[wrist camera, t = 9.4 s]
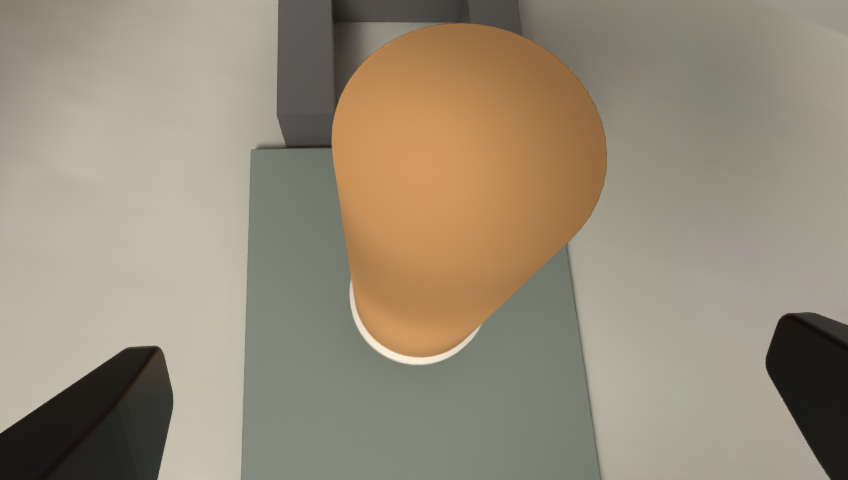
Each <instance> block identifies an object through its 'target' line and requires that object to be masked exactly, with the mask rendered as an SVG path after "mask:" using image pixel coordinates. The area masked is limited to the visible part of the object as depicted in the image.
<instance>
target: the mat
mask: <svg viewBox="0 0 848 480" xmlns="http://www.w3.org/2000/svg"><path fill="white" fill-rule="evenodd" d="M350 282H351V274H350V267H349V260H348V254H347V247H346V241H345V234H344V228H343V221H342V215H341V208H340V202H339V195H338V188H337V182H336V175H335V169H334V162H333V153H332V148H310V149H253V150H251V168H250V201H249V234H248V266H247V299H246V332H245V364H244V397H243V430H242V462H241V480H600V474H599V467H598V460H597V454H596V447H595V440H594V433H593V426H592V419H591V413H590V406H589V399H588V392H587V385H586V378H585V372H584V365H583V358H582V351H581V344H580V338H579V331H578V324H577V317H576V310H575V303H574V297H573V290H572V283H571V276H570V269H569V262H568V256H567V249H566V244H565V245H564V246H563V247H562V248H561V249H560V250H559V251H558V252H557V253H556V254H555V255H554V256H553V257H552V258H551V259H550V260H549V261H547V262H546V263H545V264H544V265H543V266H542V267H541V268H540V269H539V270H538V271H537V272H536V273H535V274H534V275H533V276H532V277H531V278H530V279H528V280H527V281H526V282H525V283H524V284H523V285H522V286H521V287H520V288H519V289H518V290H517V291H516V292H515V293H514V294H513V295H512V296H510V297H509V298H508V299H507V300H506V301H505V302H504V303H503V304H502V305H501V306H500V307H499V308H498V309H497V310H496V311H495V312H494V313H493V314H491V315H490V316H489V317H488V318H487V319H486V320H485V321H484V322H483V323H482V325H481V326H480V328H479V330H478V332H477V333H476V335H475V336H474V337H473V339H472V340H471V341H470V342H469V343H468V344H467V345H466V346H465V347H463V348H462V349H461V350H460V351H459V352H457V353H456V354H455V355H453V356H451V357H450V358H448V359H446V360H443V361H441V362H438V363H434V364H431V365H423V366H412V365H403V364H399V363H396V362H393V361H391V360H389V359H387V358H385V357H383V356H382V355H380V354H379V353H378V352H376V351H375V350H374V349H373V348H372V347H371V346H370V345H369V344H368V343H367V342H366V341H365V340H364V338H363V337H362V335H361V334H360V332H359V330H358V328H357V327H356V324H355V321H354V319H353V314H352V310H351V305H350Z"/></svg>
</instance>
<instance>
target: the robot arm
mask: <svg viewBox="0 0 848 480" xmlns="http://www.w3.org/2000/svg"><path fill="white" fill-rule="evenodd" d="M765 363H766V369H767V372H768V374H769V376H770V378H771V380H772V382H773V383H774V385H775V387H776V389H777V390H778V392H779V394H780V396H781V397H782V399H783V401H784V403H785V404H786V406H787V408H788V410H789V411H790V413H791V415H792V417H793V418H794V420H795V422H796V424H797V425H798V427H799V429H800V431H801V432H802V434H803V436H804V438H805V440H806V441H807V443H808V445H809V447H810V448H811V450H812V452H813V453H814V455H815V457H816V458H817V460H818V462H819V463H820V465H821V466H822V468H823V469H824V471H825V472H826V474H827V475H828V477H829V478H830V480H848V325H846V324H843V323H840V322H838V321H835V320H832V319H830V318H827V317H824V316H822V315H819V314H816V313H811V312H804V313H788V314H785V315H783V316H782V317H781V318H780V319H779V321H778V323H777V326H776V329H775V332H774V335H773V337H772V340H771V343H770V346H769V349H768V352H767V355H766V362H765ZM172 410H173V392H172V387H171V383H170V379H169V374H168V370H167V366H166V361H165V357H164V354H163V352H162V350H161V348H159V347H157V346H139V347H128V348H126V349H124V350H122V351H121V352H119V353H118V354H117V355H115V356H114V357H112V358H111V359H109V360H108V361H106V362H105V363H103V364H102V365H100V366H99V367H97V368H96V369H94V370H93V371H91V372H90V373H89V374H87V375H86V376H84V377H83V378H81V379H80V380H78V381H77V382H75V383H74V384H72V385H71V386H69V387H68V388H66V389H65V390H64V391H62V392H61V393H59V394H58V395H56V396H55V397H53V398H52V399H50V400H49V401H47V402H46V403H44V404H43V405H41V406H40V407H39V408H37V409H36V410H34V411H33V412H31V413H30V414H28V415H27V416H25V417H24V418H22V419H21V420H19V421H18V422H16V423H15V424H14V425H12V426H11V427H9V428H8V429H6V430H5V431H3V432H2V433H0V480H157V479H158V474H159V470H160V465H161V461H162V456H163V452H164V447H165V442H166V438H167V433H168V429H169V424H170V420H171V415H172Z"/></svg>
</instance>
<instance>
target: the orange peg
mask: <svg viewBox="0 0 848 480" xmlns="http://www.w3.org/2000/svg"><path fill="white" fill-rule="evenodd" d="M332 153H333V162H334V169H335V175H336V182H337V188H338V195H339V202H340V208H341V215H342V221H343V228H344V234H345V241H346V247H347V254H348V260H349V267H350V274H351V282H350V305H351V310H352V314H353V319H354V321H355V324H356V327H357V328H358V330H359V332H360V334H361V335H362V337H363V338H364V340H365V341H366V342H367V343H368V344H369V345H370V346H371V347H372V348H373V349H374V350H375V351H376V352H378V353H379V354H380V355H382V356H383V357H385V358H387V359H389V360H391V361H393V362H396V363H399V364H403V365H412V366H423V365H431V364H434V363H438V362H441V361H443V360H446V359H448V358H450V357H451V356H453V355H455V354H456V353H457V352H459V351H460V350H461V349H462V348H463V347H465V346H466V345H467V344H468V343H469V342H470V341H471V340H472V339H473V337H474V336H475V335H476V333H477V332H478V330H479V328H480V326H481V325H482V323H483V322H484V321H485V320H486V319H487V318H488V317H489V316H490V315H491V314H493V313H494V312H495V311H496V310H497V309H498V308H499V307H500V306H501V305H502V304H503V303H504V302H505V301H506V300H507V299H508V298H509V297H510V296H512V295H513V294H514V293H515V292H516V291H517V290H518V289H519V288H520V287H521V286H522V285H523V284H524V283H525V282H526V281H527V280H528V279H530V278H531V277H532V276H533V275H534V274H535V273H536V272H537V271H538V270H539V269H540V268H541V267H542V266H543V265H544V264H545V263H546V262H547V261H549V260H550V259H551V258H552V257H553V256H554V255H555V254H556V253H557V252H558V251H559V250H560V249H561V248H562V247H563V246H564V245H565V244H566V243H568V242H569V241H570V240H571V239H572V237H573V236H574V235H575V234H576V233H577V232H578V231H579V230H580V229H581V228H582V227H583V225H584V224H585V222H586V221H587V220H588V218H589V217H590V216H591V214H592V212H593V210H594V208H595V206H596V204H597V202H598V200H599V197H600V194H601V191H602V188H603V185H604V179H605V174H606V166H607V149H606V139H605V134H604V130H603V126H602V122H601V119H600V116H599V114H598V111H597V109H596V106H595V104H594V103H593V101H592V99H591V97H590V95H589V93H588V92H587V90H586V89H585V87H584V86H583V85H582V83H581V82H580V80H579V79H578V78H577V77H576V76H575V75H574V73H573V72H572V71H571V70H570V69H569V68H568V67H567V66H566V65H565V64H564V63H563V62H561V61H560V60H559V59H558V58H557V57H556V56H554V55H553V54H552V53H550V52H549V51H547V50H546V49H544V48H543V47H541V46H540V45H538V44H536V43H534V42H532V41H531V40H529V39H527V38H525V37H522V36H520V35H517V34H515V33H512V32H510V31H506V30H503V29H499V28H496V27H491V26H485V25H479V24H466V23H454V24H441V25H435V26H429V27H425V28H422V29H418V30H415V31H411V32H409V33H407V34H404V35H402V36H400V37H397V38H395V39H394V40H392V41H390V42H389V43H387V44H385V45H384V46H382V47H381V48H379V49H378V50H377V51H376V52H374V53H373V54H372V55H370V56H369V57H368V58H367V59H366V60H365V61H364V62H363V63H362V64H361V65H360V66H359V67H358V69H357V70H356V71H355V73H354V74H353V76H352V77H351V78H350V80H349V81H348V83H347V85H346V87H345V89H344V90H343V92H342V94H341V97H340V99H339V102H338V105H337V108H336V111H335V116H334V120H333V125H332Z"/></svg>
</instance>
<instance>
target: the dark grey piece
mask: <svg viewBox="0 0 848 480" xmlns="http://www.w3.org/2000/svg"><path fill="white" fill-rule="evenodd" d="M335 22H457V23H466V24H479V25H485V26H491V27H496V28H499V29H503V30H506V31H510V32H512V33H515V34H517V35H520V36H522V30H521V23H520V16H519V9H518V2H517V0H279V4H278V67H277V117H278V120H279V124H280V127H281V130H282V134H283V137H284V141H285V144H286V147H308V146H332V125H333V120H334V116H335V111H336V71H335Z"/></svg>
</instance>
